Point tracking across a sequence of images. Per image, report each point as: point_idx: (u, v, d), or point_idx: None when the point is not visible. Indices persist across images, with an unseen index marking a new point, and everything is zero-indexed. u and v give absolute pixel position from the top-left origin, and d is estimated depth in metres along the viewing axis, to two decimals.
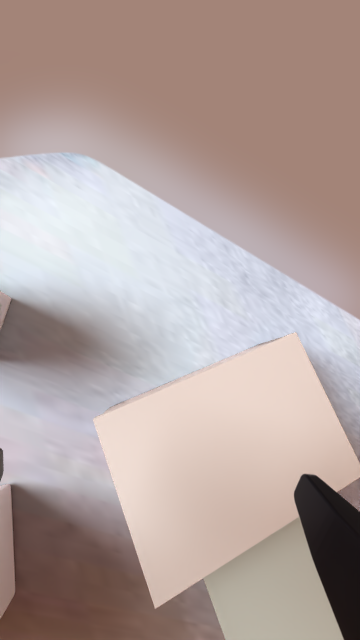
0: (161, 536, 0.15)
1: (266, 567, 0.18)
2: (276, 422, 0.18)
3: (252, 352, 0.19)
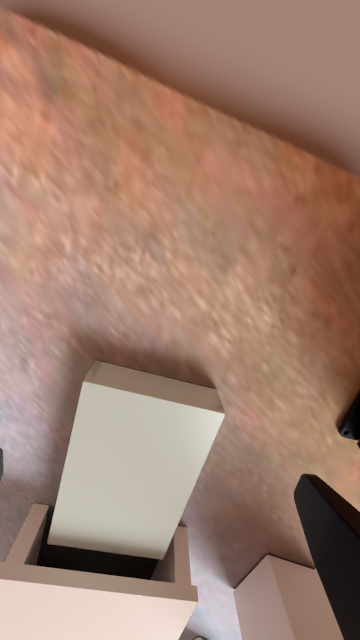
0: (168, 622, 0.21)
1: (123, 527, 0.21)
2: (43, 629, 0.21)
3: None
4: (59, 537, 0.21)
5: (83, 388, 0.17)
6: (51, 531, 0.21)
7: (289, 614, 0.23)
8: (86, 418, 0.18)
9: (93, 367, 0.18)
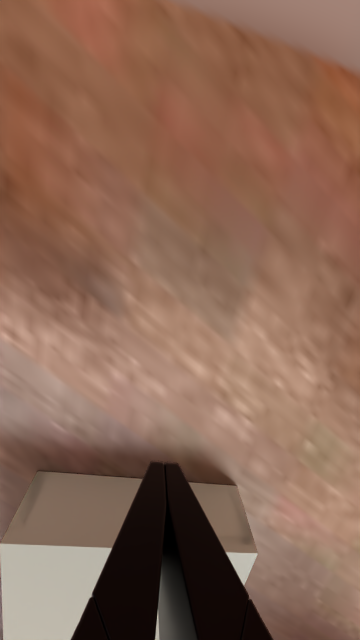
0: None
1: None
2: None
3: None
4: None
5: (3, 553, 0.09)
6: None
7: None
8: (21, 591, 0.10)
9: (30, 491, 0.11)
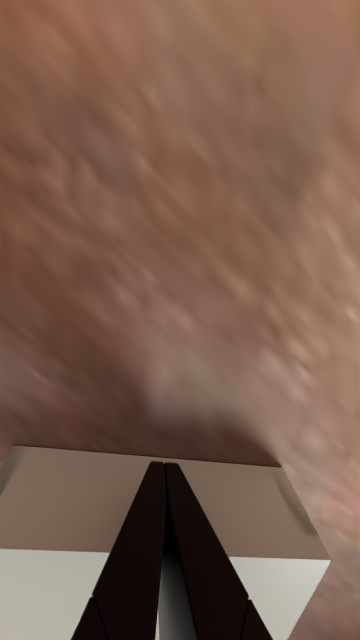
0: None
1: None
2: None
3: None
4: None
5: None
6: None
7: None
8: None
9: None
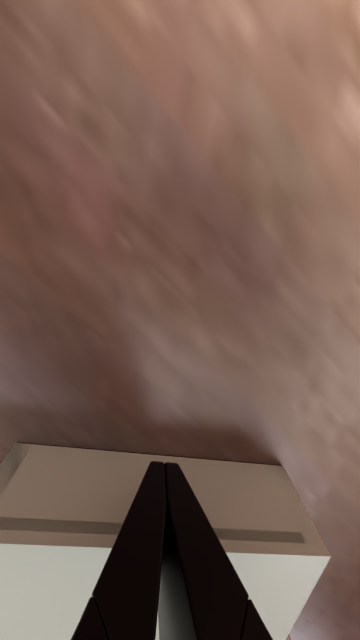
0: None
1: None
2: None
3: None
4: None
5: None
6: None
7: None
8: None
9: (1, 469, 0.08)
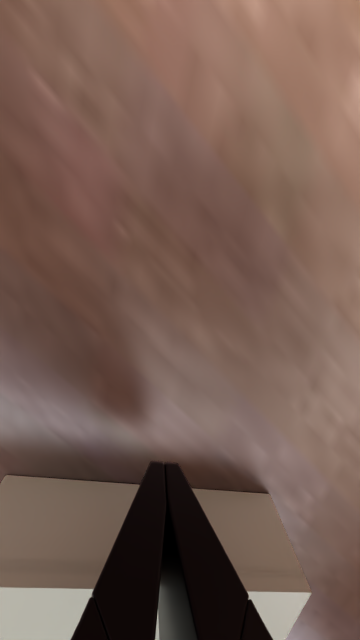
0: None
1: None
2: None
3: None
4: None
5: None
6: None
7: None
8: None
9: None
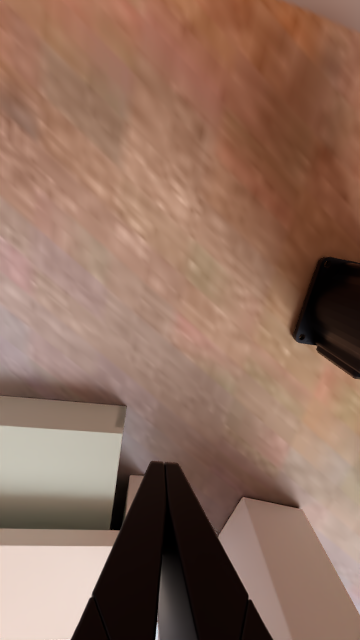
0: None
1: None
2: None
3: None
4: None
5: None
6: None
7: (265, 551, 0.21)
8: None
9: None
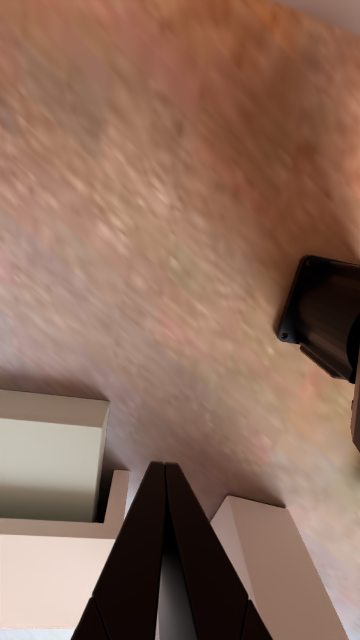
0: (100, 567, 0.19)
1: None
2: None
3: None
4: None
5: None
6: None
7: (245, 549, 0.21)
8: None
9: None
